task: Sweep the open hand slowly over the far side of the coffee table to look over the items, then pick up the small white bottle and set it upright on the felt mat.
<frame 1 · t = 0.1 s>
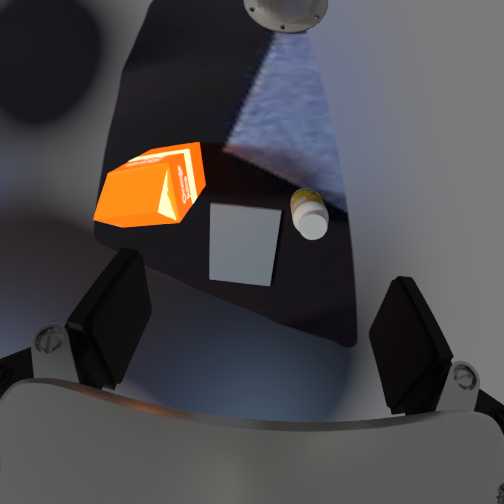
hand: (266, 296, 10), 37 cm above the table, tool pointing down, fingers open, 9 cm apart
supplement bottle: (306, 201, 47), on the table
felt mat: (242, 246, 52), on the table
orange juice: (178, 166, 45), on the table
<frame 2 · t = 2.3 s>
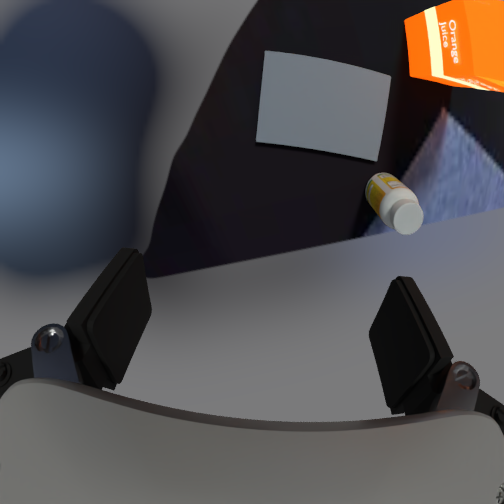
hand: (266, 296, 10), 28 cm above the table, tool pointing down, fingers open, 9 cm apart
supplement bottle: (381, 189, 36), on the table
felt mat: (325, 104, 30), on the table
orange juice: (429, 52, 24), on the table
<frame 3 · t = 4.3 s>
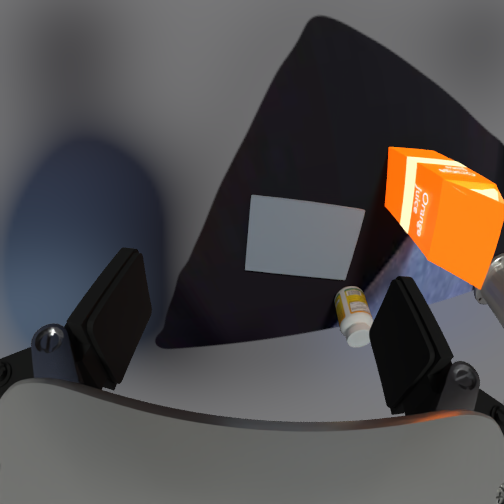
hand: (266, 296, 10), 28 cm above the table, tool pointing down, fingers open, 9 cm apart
supplement bottle: (348, 296, 46), on the table
felt mat: (302, 239, 41), on the table
orange juice: (409, 177, 34), on the table
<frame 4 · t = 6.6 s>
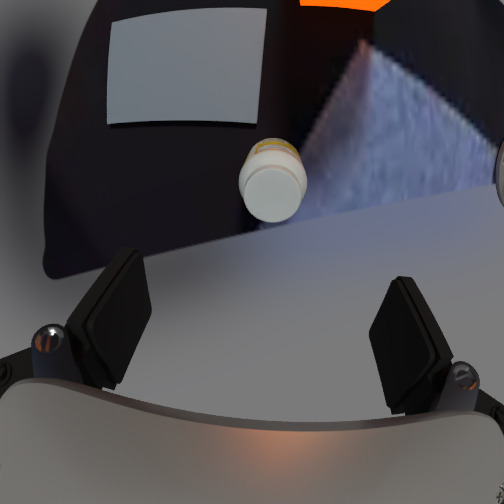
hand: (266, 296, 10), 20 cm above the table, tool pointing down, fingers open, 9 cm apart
supplement bottle: (273, 163, 27), on the table
felt mat: (179, 63, 22), on the table
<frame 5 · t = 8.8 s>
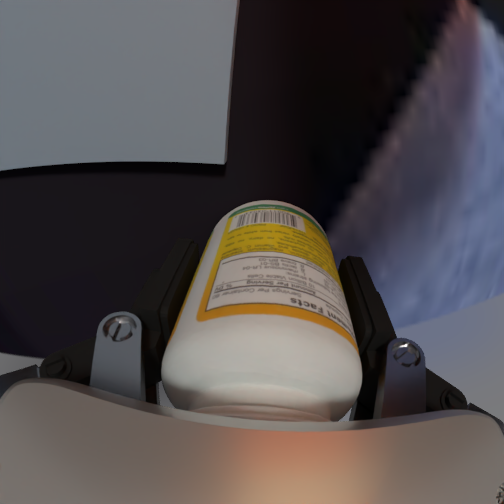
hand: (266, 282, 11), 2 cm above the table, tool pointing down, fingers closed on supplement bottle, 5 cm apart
supplement bottle: (268, 252, 13), on the table, touching gripper
felt mat: (63, 41, 7), on the table
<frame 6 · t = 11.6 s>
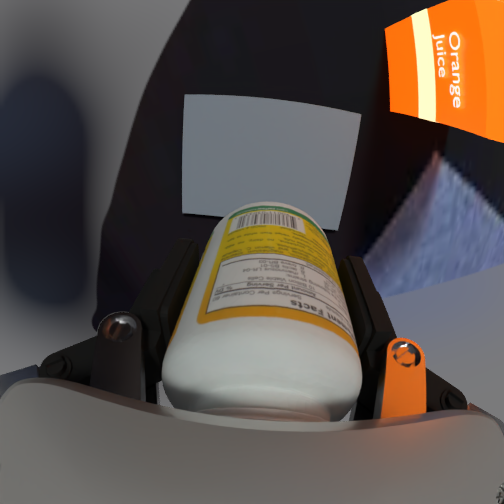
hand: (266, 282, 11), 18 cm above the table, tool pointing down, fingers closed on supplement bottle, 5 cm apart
supplement bottle: (267, 253, 13), point 15 cm above the table, touching gripper
felt mat: (266, 161, 25), on the table
orange juice: (420, 74, 19), on the table
when the fingers open (4 cm above the table, at t = 14.6 s): supplement bottle drops 2 cm, resting on felt mat.
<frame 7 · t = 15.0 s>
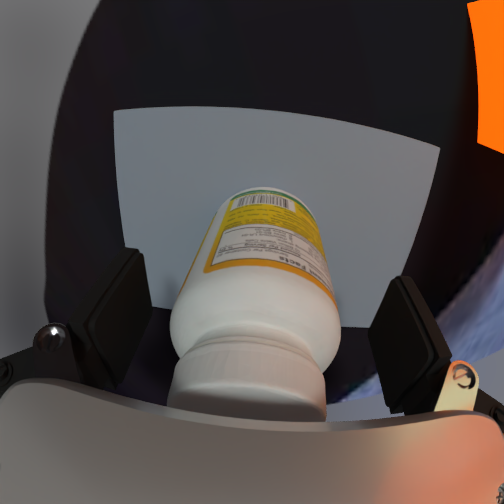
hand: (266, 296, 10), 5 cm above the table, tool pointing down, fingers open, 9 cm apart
supplement bottle: (264, 233, 14), resting on felt mat
felt mat: (268, 229, 15), on the table
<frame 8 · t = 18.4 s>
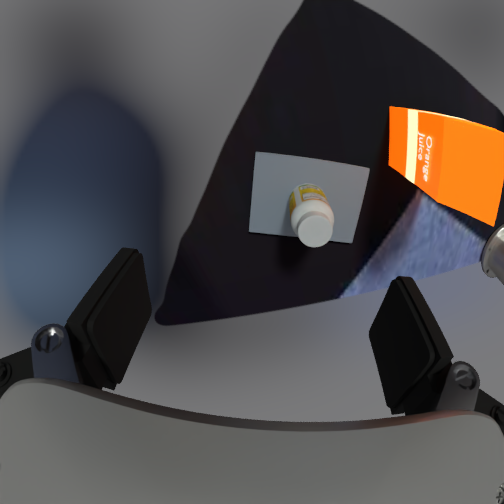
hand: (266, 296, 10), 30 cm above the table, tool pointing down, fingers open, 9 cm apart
supplement bottle: (306, 200, 39), resting on felt mat
felt mat: (308, 198, 39), on the table
orange juice: (411, 137, 33), on the table
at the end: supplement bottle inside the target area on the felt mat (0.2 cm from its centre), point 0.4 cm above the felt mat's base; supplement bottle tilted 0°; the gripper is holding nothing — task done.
